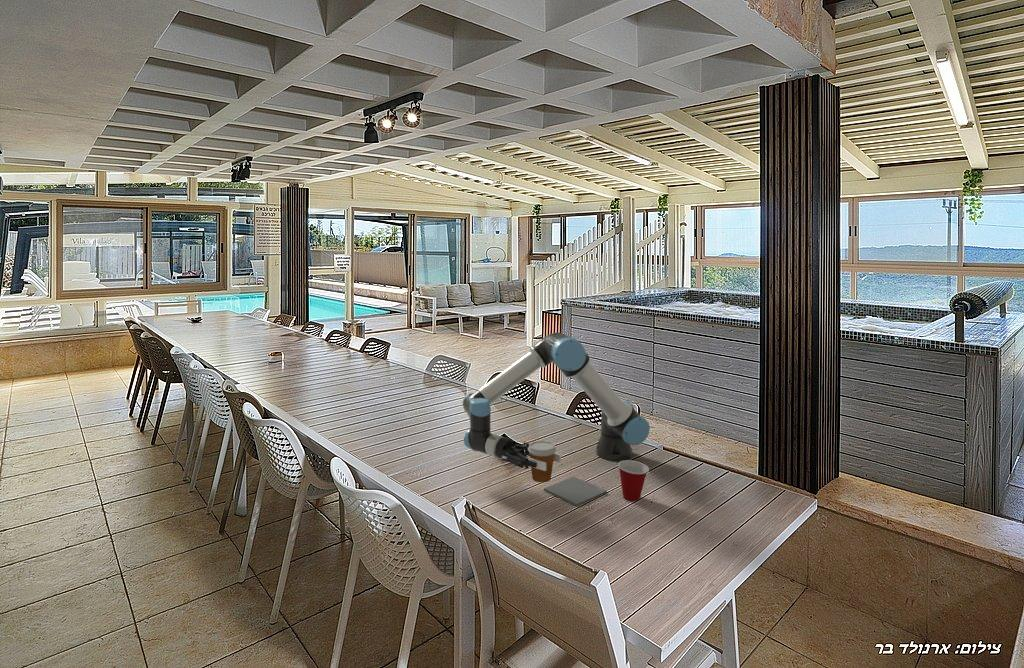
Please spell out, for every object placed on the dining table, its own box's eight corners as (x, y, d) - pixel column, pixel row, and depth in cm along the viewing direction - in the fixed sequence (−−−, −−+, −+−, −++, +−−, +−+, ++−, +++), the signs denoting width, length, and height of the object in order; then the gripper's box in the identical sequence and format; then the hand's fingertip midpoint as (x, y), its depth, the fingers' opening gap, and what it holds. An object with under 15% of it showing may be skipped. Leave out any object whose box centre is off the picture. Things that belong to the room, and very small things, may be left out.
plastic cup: (648, 506, 195) (650, 473, 193) (616, 503, 197) (617, 470, 195) (647, 492, 205) (649, 460, 203) (616, 489, 207) (618, 458, 205)
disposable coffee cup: (523, 474, 198) (524, 442, 196) (549, 471, 201) (550, 439, 199) (533, 486, 189) (533, 452, 187) (559, 482, 192) (560, 448, 190)
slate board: (573, 479, 216) (573, 476, 216) (606, 493, 204) (607, 490, 204) (543, 491, 205) (543, 488, 205) (577, 506, 194) (577, 504, 193)
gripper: (518, 448, 213) (570, 463, 200) (481, 466, 197) (534, 483, 183) (518, 429, 212) (570, 443, 198) (481, 445, 196) (535, 461, 182)
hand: (553, 462), depth 191 cm, fingers closed on disposable coffee cup, 8 cm apart
